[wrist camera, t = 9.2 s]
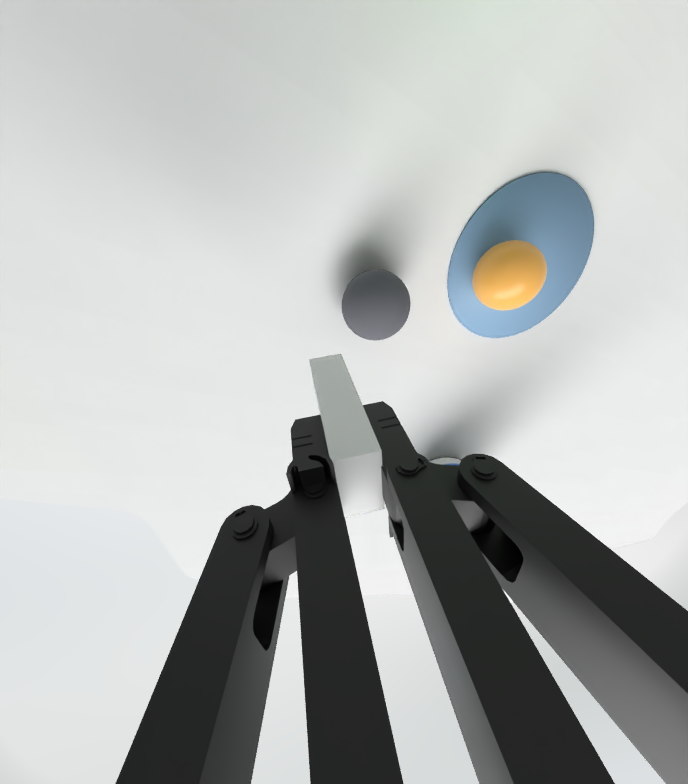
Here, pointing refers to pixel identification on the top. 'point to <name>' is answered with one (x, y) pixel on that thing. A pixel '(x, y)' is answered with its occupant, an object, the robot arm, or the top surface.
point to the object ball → (509, 275)
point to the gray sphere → (376, 304)
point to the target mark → (531, 224)
